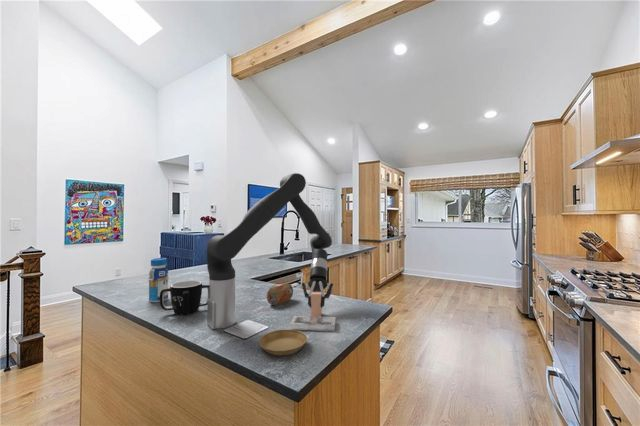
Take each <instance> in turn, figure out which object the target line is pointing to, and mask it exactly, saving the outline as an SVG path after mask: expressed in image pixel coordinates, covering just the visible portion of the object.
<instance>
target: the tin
mask: <svg viewBox="0 0 640 426" xmlns="http://www.w3.org/2000/svg"><path fill="white" fill-rule="evenodd" d="M293 293H294V288H293V286H292V284H291V283H286V282H285V283H284V282H283V283H280V284H277V285H274V286H271V287H270V288H269V289H268V290H267V293H266V300H267V303H268V304H270V305H272V306H275V307H276V306H279V305H281V304H282V305H283V304H284V303H288V302H289V301H291V299H292V297H293Z"/></svg>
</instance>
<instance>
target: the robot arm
mask: <svg viewBox="0 0 640 426" xmlns="http://www.w3.org/2000/svg"><path fill="white" fill-rule="evenodd" d="M306 184H307V181H306V178H305V176H304V175H302V174H301V173H299V172H298V173H295V172H294V173H291V174H288V175H286V176H283V177H282V178H281V179H280V181H279V186H280V187H278V188H277V189H276V190H274V191H273V192H271V193H269V194H267V195H266V196H264V197H263V198H261V199H260V200H258V201H257V202H256V203H254V204H253V206H251V207H250V208H249V209H248V210H247V212H245V213H246V214H245V215H244V216H243V218H242V220H241V221H240V223H239V224H238V225H237V226H236V227H234V229H232V230H231V231H230V232H228V233H226V234H224V235H222V234H219V235H218V234H217V235H214V236H213V237H211V238H210V240H208V243H207V247H206V264H207V265H206V266H207V272H208V275H209V276H208V278H209V279H208V281H209V283H208V285H209V299H208V298H207V299H208V300H207V299H206V301H207V305H206V306H207V311H206V312H207V317H206V318H207V319H206V320H207V323H206V324H207V326H209V327H210V329H211V330H215V329H225V328H230V327H232V326H234V325H235V324H236V270H235V267H234V266H233V264H232V259H234V258H235V257H236V256H237V255H238V254H239V253H240V252H241V251H242V249H243V248H244V247H245V246H246V245H247V243H249V241H250V240H251V239H252V238H253V237H254V236H255V235H256V234H257V233H259V232H260V230H262V229H263V228H264V227H265V226H266V225H268V224H269V222H270V221H271V220H272V219H274V218H275V216H277V215H278V213H280V211H281V210H282V209H283V208H284V207H285V206H286V205H287V204H288V203H289V202H290V204H291V205H292V207H293V208H294V210H295V211H296V213H297V214H298V217H300V219H301V221H302V223H303V225H304V227H305V229H306V232H307V233H308V234H309V235H316V236H313V237H311V239H310V242H309V245H310V248H311V254H312V256H311V257H312V258H311V263H310V271H309V280H308V282H306V283H305V282H302V283H301V287H302V290H303V294H304V298H305V299H307V306H308V307H309V308H311V293H312V292H322V293H321V295H322V297H321V308H322V309H323V307H324V306H325V300H326V299H330V297H331V294H332V291H333V290H334V283H332V282H331V283H328V252H327V251H326V250H325V249H328V248H330V247H331V246H332V245H333V240H332V237H331V235H330V234H329V233H328V231H326V229H324V227H323V226H322V225H321V224H320V221H319V218H318V217H317V214H315V212H314V211H313V209H311V207H310V206H309V205H308V204H306V202H305V201H304V200H303V199H302V197H301V195H300V194H301V193H302V192H303V191H305V188H306ZM308 287H309V293H308V291H307V288H308ZM326 288H327V290H326V293H325V291H324V290H325V289H326Z"/></svg>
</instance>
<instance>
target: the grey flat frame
mask: <svg viewBox="0 0 640 426" xmlns="http://www.w3.org/2000/svg"><path fill="white" fill-rule="evenodd" d="M289 330H296V331H318V332H319V331H321V332H326V331H327V332H335V331H336V316H321V317H319V316H311V315H293V317H292V319H291V321H290V322H289Z"/></svg>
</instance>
